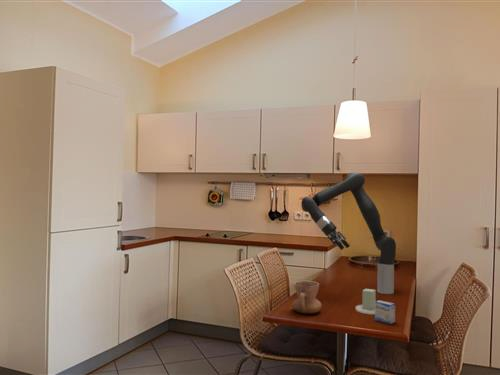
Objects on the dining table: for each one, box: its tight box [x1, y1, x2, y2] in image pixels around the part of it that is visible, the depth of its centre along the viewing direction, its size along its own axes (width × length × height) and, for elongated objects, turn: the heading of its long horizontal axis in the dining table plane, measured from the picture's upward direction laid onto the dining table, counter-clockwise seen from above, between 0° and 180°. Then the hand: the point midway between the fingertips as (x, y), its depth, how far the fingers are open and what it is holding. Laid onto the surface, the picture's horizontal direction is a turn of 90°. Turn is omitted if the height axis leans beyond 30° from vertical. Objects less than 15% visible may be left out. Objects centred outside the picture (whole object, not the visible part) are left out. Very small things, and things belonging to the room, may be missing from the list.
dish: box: [355, 304, 375, 316], centre depth 207 cm, size 13×13×1 cm
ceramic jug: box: [291, 280, 323, 315], centre depth 204 cm, size 18×14×14 cm
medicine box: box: [374, 299, 396, 325], centre depth 191 cm, size 8×4×9 cm, turn 45°
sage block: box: [361, 288, 377, 310], centre depth 207 cm, size 5×5×9 cm
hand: (345, 247), depth 226 cm, fingers open, 8 cm apart
